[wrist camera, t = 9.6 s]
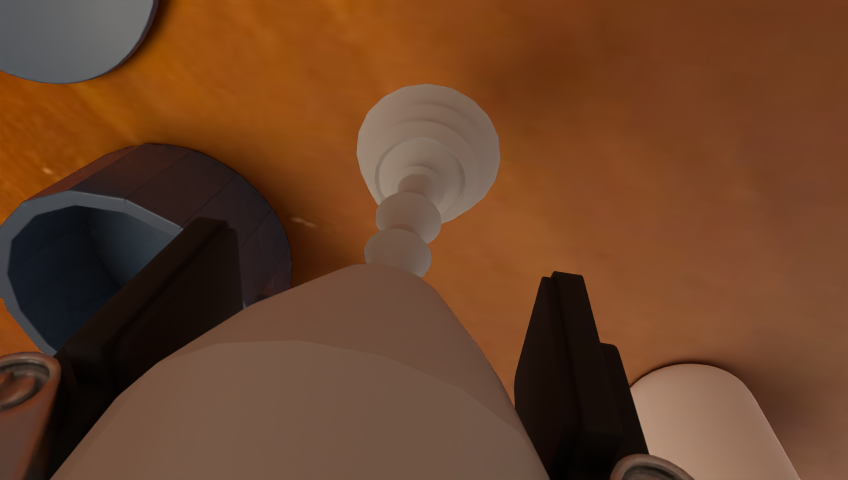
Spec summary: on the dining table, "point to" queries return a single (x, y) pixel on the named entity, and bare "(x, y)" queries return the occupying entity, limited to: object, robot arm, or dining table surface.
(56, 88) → the dining table surface
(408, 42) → the dining table surface
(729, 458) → the mug
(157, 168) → the pot
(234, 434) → the chalice
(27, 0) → the pot lid
